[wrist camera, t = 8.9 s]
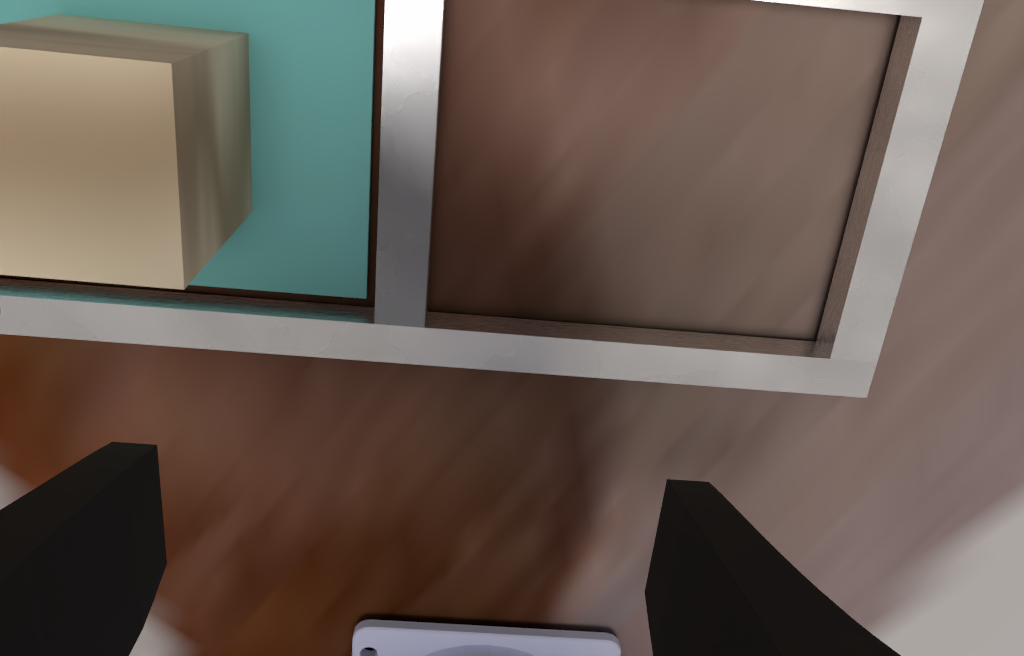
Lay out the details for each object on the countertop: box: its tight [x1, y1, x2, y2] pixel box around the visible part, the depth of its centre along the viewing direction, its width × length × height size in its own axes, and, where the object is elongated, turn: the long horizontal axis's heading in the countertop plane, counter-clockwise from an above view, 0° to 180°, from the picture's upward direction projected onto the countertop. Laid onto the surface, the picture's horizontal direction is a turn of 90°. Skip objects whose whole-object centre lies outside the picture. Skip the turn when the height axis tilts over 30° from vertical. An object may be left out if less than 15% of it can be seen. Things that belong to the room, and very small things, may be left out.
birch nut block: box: [0, 14, 252, 290], centre depth 17 cm, size 4×4×5 cm
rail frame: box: [0, 0, 984, 398], centre depth 20 cm, size 10×24×1 cm, turn 85°
